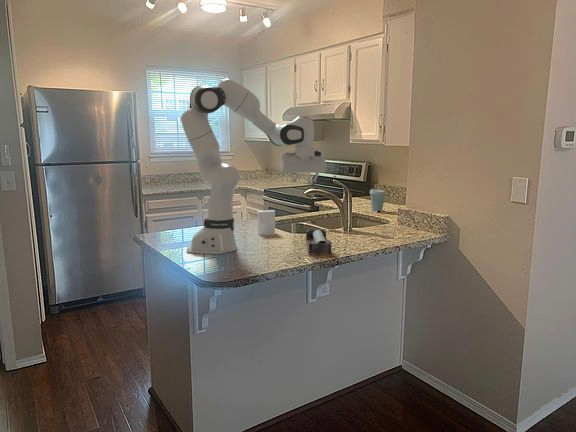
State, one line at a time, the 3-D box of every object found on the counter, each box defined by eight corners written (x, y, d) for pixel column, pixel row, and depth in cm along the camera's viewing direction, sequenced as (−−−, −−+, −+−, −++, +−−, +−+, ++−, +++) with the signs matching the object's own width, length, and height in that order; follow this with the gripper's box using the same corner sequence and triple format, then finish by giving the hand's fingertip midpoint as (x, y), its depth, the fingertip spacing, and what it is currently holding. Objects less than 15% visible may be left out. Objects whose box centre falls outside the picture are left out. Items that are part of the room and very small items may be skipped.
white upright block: (272, 231, 232) (272, 209, 230) (277, 234, 224) (277, 212, 222) (256, 232, 230) (255, 210, 227) (260, 235, 221) (260, 213, 219)
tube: (310, 230, 210) (314, 242, 186) (320, 227, 210) (326, 238, 186) (313, 240, 211) (318, 253, 187) (324, 237, 211) (329, 249, 186)
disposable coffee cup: (386, 210, 295) (387, 189, 292) (383, 213, 285) (383, 191, 282) (371, 209, 299) (371, 188, 296) (367, 212, 289) (367, 190, 287)
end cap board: (308, 255, 185) (308, 243, 184) (305, 239, 214) (305, 229, 213) (331, 255, 185) (331, 243, 184) (325, 239, 214) (325, 229, 213)
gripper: (282, 152, 196) (282, 183, 199) (326, 152, 196) (326, 182, 199) (282, 152, 202) (282, 181, 205) (325, 152, 203) (325, 181, 205)
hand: (304, 182), depth 202 cm, fingers open, 8 cm apart
